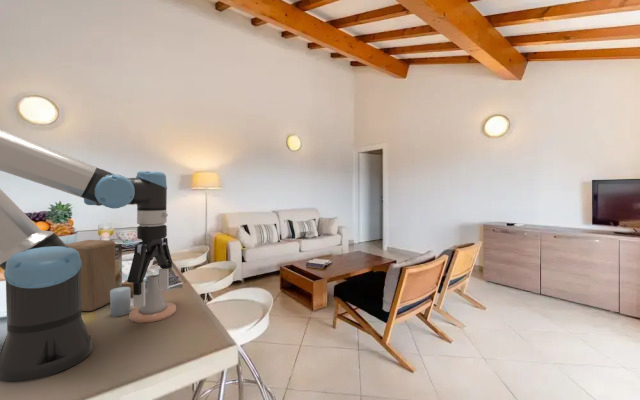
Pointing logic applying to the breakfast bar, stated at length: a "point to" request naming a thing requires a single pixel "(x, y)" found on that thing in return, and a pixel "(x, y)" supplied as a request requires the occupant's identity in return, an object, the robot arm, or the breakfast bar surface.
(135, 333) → the breakfast bar surface
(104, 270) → the block
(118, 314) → the blue-grey cylinder
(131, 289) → the walnut cube
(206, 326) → the breakfast bar surface
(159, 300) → the flask
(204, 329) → the breakfast bar surface
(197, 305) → the breakfast bar surface
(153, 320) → the terracotta plate
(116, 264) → the coffee box
